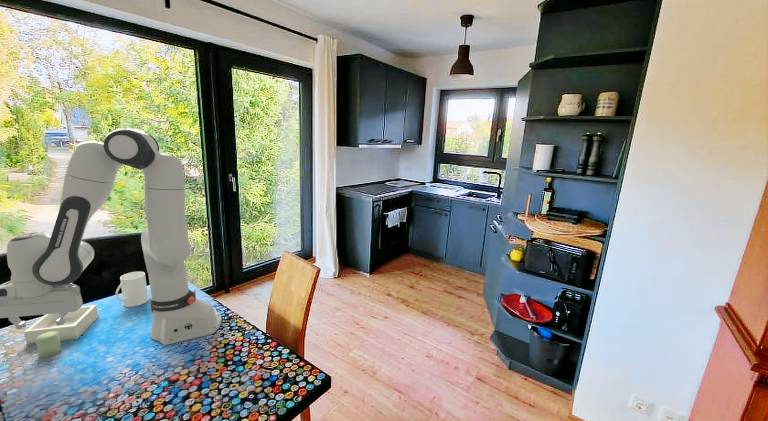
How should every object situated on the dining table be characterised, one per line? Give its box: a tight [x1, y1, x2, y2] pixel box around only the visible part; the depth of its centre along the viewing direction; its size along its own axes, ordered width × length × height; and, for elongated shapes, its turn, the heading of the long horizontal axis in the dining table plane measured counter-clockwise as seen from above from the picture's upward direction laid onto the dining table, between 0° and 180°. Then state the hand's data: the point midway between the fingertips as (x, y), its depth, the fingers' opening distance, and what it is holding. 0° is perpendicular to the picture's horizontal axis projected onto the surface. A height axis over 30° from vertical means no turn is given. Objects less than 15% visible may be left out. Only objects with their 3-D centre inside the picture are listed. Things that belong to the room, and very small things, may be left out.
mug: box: [115, 271, 150, 308], centre depth 127 cm, size 12×8×12 cm
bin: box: [23, 304, 99, 346], centre depth 109 cm, size 13×14×5 cm
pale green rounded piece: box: [35, 331, 63, 359], centre depth 98 cm, size 5×5×6 cm
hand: (41, 326), depth 96 cm, fingers open, 8 cm apart
